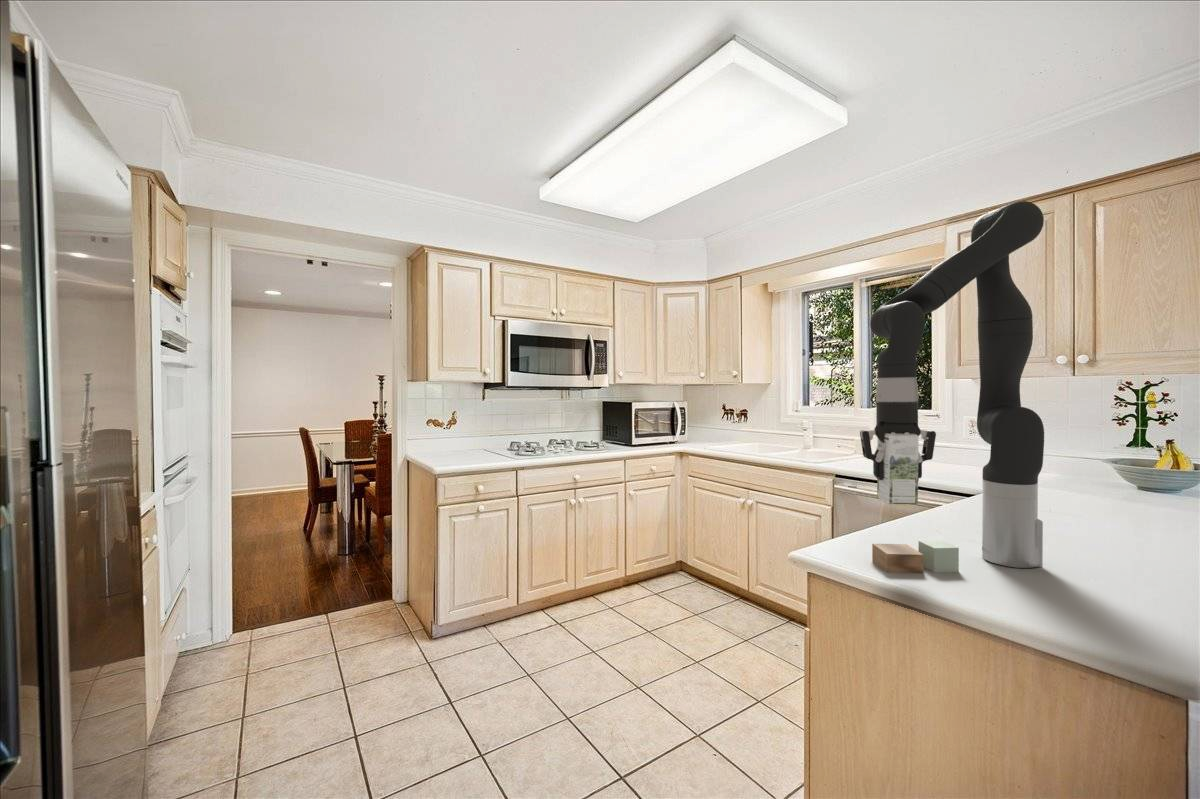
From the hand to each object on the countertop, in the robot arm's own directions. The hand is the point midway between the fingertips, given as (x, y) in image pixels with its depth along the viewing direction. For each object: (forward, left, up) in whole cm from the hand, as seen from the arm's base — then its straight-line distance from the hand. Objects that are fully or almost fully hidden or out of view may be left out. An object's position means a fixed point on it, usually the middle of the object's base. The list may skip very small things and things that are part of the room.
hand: (897, 479), depth 107 cm
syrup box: (0, 0, -5) cm, 5 cm away
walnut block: (0, 0, -19) cm, 19 cm away
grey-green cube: (-8, -1, -18) cm, 20 cm away
